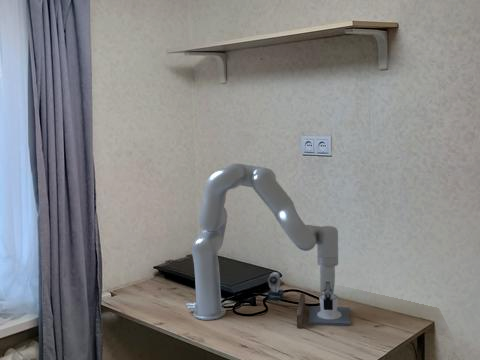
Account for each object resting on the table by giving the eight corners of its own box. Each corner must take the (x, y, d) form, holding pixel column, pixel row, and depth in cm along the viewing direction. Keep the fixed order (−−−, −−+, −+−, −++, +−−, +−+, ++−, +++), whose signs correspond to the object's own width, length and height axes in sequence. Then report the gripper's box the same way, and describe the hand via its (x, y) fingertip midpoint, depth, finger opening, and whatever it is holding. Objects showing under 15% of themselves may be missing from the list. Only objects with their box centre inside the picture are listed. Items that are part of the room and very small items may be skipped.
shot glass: (324, 309, 205) (324, 292, 204) (341, 313, 201) (340, 295, 200) (316, 315, 200) (315, 297, 199) (333, 319, 196) (332, 301, 195)
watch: (267, 301, 219) (266, 275, 218) (271, 294, 227) (270, 269, 225) (280, 302, 218) (279, 276, 216) (284, 295, 225) (283, 270, 224)
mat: (308, 324, 195) (308, 321, 195) (310, 309, 210) (310, 306, 209) (350, 325, 192) (350, 323, 192) (349, 310, 207) (349, 307, 207)
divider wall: (296, 328, 192) (296, 315, 191) (300, 305, 214) (300, 293, 213) (301, 328, 192) (301, 315, 191) (305, 305, 213) (304, 293, 213)
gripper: (318, 253, 207) (318, 296, 209) (316, 267, 190) (317, 313, 192) (338, 253, 206) (338, 296, 208) (338, 267, 189) (338, 314, 191)
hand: (328, 304), depth 200 cm, fingers open, 9 cm apart
